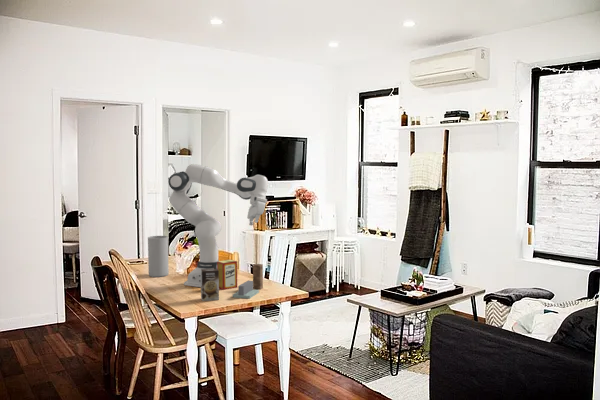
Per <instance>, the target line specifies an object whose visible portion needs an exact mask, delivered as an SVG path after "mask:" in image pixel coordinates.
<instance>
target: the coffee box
mask: <svg viewBox="0 0 600 400" xmlns="http://www.w3.org/2000/svg"><path fill="white" fill-rule="evenodd" d="M200 298H201V301H202V302H205V301H207V302H208V301H219V300H220V289H219V270H218V269H201V287H200Z"/></svg>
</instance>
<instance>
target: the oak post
mask: <svg viewBox="0 0 600 400" xmlns="http://www.w3.org/2000/svg"><path fill="white" fill-rule="evenodd" d="M263 268H264V266H263V264H262V263H255V264H253V265H252V281H253V290H259V291H260V290H262V289H264V274H263V273H264V270H263Z"/></svg>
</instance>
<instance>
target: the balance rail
mask: <svg viewBox="0 0 600 400" xmlns="http://www.w3.org/2000/svg"><path fill="white" fill-rule="evenodd" d="M237 289H238V290H237V291H236V292H234V293H232V298H235V299H237V298H238V299H249V300H250V299H252V298H253V297H254V296H256V295H257V294H259V293H260V289H253V280H250V279H249V280H245V282H243V283H241V284H240V285H237Z"/></svg>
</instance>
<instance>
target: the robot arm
mask: <svg viewBox="0 0 600 400" xmlns="http://www.w3.org/2000/svg"><path fill="white" fill-rule="evenodd" d="M193 183H197V184H201V185H204V186H208V187H213V188H218V189H220V190H224V191H226V192H229V193H232V194H235V195H237V196H238V197H239V198H241V199H243V200H248V201H249V204H250V205H251V206H249V209H248V212H247V219H248V221H249V223H248V224H249V226H253V225H254V223H256V224H257V223H258V222H259V220H260V217H261V215H263V214H264V212H265V207H266V204H267V202H268V199H267V197H266V194H267V192H268V186H269V185H268V183H269V180H268V178H267V177H266V176H265V175H262V174H255V175H253V176H250V177H241V178H240V179H238V181H237V182H234V181H231V180H228V179H226V178H224V177H223V176H222V175H221V174H220V172H219V171H218V170H217V169H214V168H213V167H210V166H206V165H203V164H194V163H192V164H191V163H190V164H189V165H187V166H186V169H185V171H184V170H183V171H179V172H175V173H173V174H171V175H170V176H169V178H168V183H167V184H168V186H169V187H170V189H171V190H173V192H172V193H171V194H170V196H169V198H168V199H169V200H168V201H169V204H171V207H172V208H173V209H174V210H175V211H176V213H178V214H179V215H180V216H181V217H182V218H183V219H184V220H185V221H186V222H187V223H189V224H191V225H192V226H194V227H195V228H194V233H195V236H196V238H197V242H198V248H199V260H198V261H197V262H196V263H195V266H196V265H197V266H196V267H195V268H194V269H193V270H192V271H190V272H189V273H188V275H187V280H186V281H184V282H183V286H188V287H197V288H201V269H217V261H220V260H219V247H218V244H217V239H216V236H218V235H219V234H220V232H221V230H222V223H221V222H220V221H219V220H218V219H216V218H214V217H213V216H212V215H210V213H208V212H206V211H205V210H203V209H202V208H201V207H200V206H199V205H197V203H195V201H193V199H191V198H190V197H189V196H188V193H189V192H190V190H191V188H192V186H193V185H192V184H193Z"/></svg>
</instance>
